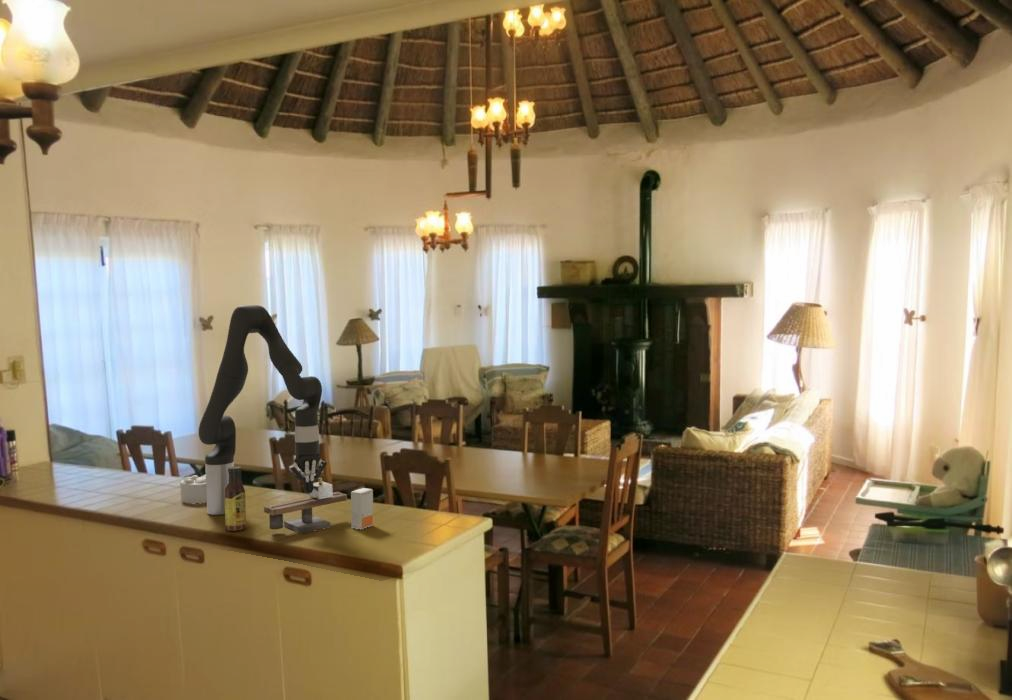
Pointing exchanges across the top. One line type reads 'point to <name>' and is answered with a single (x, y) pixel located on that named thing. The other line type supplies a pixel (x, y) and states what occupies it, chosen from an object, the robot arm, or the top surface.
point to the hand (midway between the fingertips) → (308, 492)
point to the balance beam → (307, 519)
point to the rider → (321, 490)
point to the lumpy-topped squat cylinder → (193, 489)
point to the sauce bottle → (235, 501)
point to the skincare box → (362, 508)
